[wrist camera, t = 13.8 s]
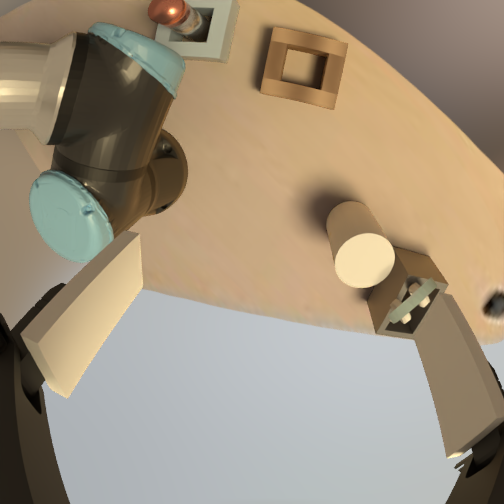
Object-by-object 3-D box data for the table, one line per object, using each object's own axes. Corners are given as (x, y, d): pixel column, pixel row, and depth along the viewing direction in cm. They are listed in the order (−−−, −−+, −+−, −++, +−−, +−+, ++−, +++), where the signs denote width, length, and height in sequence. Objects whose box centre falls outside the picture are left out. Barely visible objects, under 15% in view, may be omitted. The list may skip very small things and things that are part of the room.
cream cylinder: (316, 226, 47) (321, 265, 37) (349, 190, 43) (366, 220, 33) (350, 255, 49) (363, 297, 38) (383, 222, 45) (406, 258, 35)
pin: (186, 42, 35) (144, 23, 23) (191, 19, 33) (151, -6, 21) (211, 43, 35) (177, 21, 23) (216, 20, 33) (184, -9, 21)
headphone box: (367, 301, 53) (375, 333, 45) (392, 246, 47) (408, 274, 39) (402, 308, 53) (414, 339, 45) (429, 256, 46) (448, 284, 39)
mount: (262, 93, 38) (259, 92, 34) (275, 33, 33) (273, 26, 29) (330, 109, 38) (333, 109, 34) (343, 48, 33) (348, 43, 29)
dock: (165, 59, 36) (151, 55, 32) (177, 4, 31) (165, -5, 27) (227, 63, 36) (219, 58, 32) (239, 6, 31) (233, -5, 27)
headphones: (414, 285, 49) (430, 264, 31) (426, 301, 47) (449, 288, 29) (381, 313, 50) (381, 307, 33) (393, 330, 49) (400, 332, 31)
